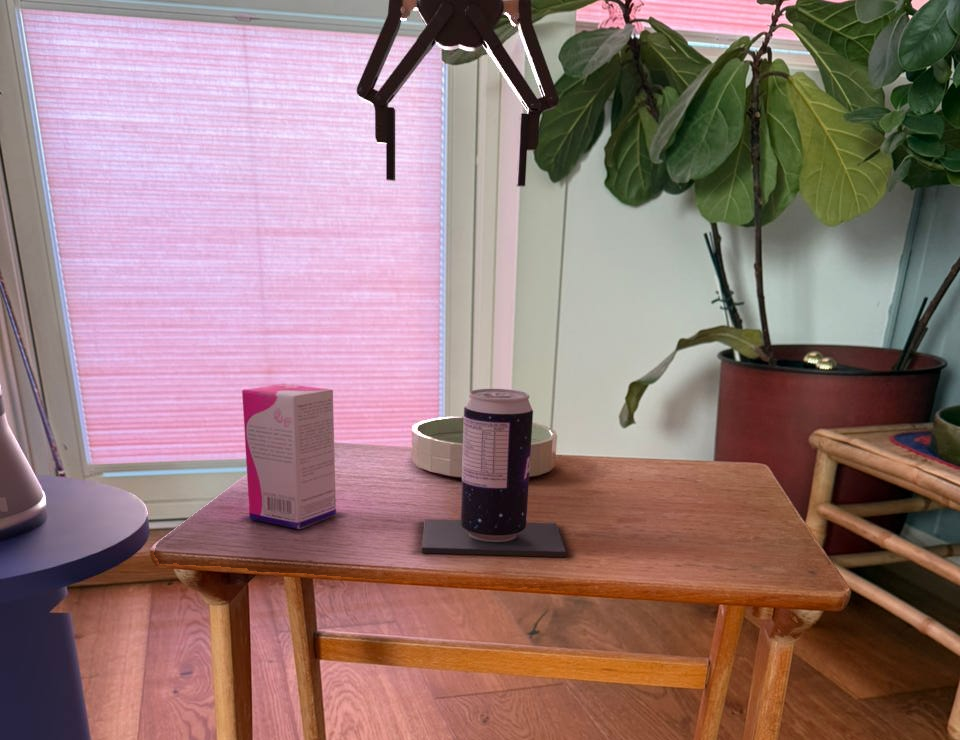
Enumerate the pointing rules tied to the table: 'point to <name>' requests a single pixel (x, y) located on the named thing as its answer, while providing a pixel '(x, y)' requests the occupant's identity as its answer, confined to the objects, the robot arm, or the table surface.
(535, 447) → the bowl
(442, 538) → the mat
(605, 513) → the table surface
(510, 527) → the beverage can
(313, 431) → the supplement box
